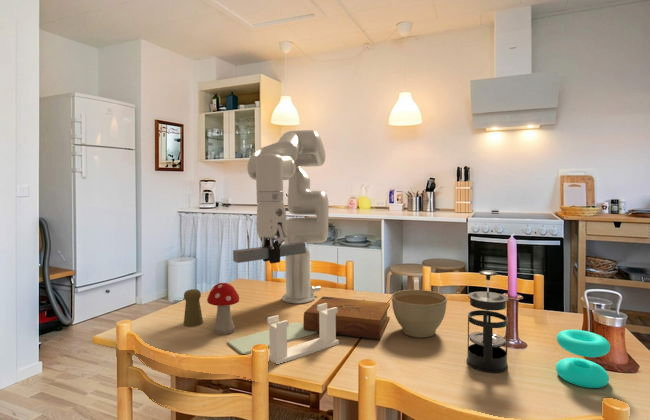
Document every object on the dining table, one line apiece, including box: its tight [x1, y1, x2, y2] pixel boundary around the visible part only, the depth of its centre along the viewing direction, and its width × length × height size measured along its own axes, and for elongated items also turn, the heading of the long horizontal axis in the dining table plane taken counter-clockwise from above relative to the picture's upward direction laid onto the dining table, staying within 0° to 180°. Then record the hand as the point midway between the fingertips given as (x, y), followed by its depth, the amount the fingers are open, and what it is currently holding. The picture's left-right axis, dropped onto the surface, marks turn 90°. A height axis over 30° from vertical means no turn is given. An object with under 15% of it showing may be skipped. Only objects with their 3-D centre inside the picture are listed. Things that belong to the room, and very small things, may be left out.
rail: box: [232, 242, 307, 264], centre depth 112 cm, size 22×3×3 cm, turn 128°
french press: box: [466, 270, 509, 374], centre depth 94 cm, size 12×9×23 cm
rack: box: [266, 303, 340, 365], centre depth 104 cm, size 20×5×10 cm, turn 128°
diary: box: [303, 296, 391, 340], centre depth 122 cm, size 23×19×6 cm
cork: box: [183, 288, 204, 328], centre depth 126 cm, size 6×6×11 cm
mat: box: [226, 321, 318, 355], centre depth 113 cm, size 24×10×1 cm, turn 128°
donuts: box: [555, 328, 611, 389], centre depth 87 cm, size 10×10×10 cm
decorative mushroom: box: [206, 282, 240, 335], centre depth 118 cm, size 10×9×15 cm
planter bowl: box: [390, 289, 448, 338], centre depth 116 cm, size 16×16×11 cm
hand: (271, 261), depth 112 cm, fingers closed on rail, 3 cm apart
